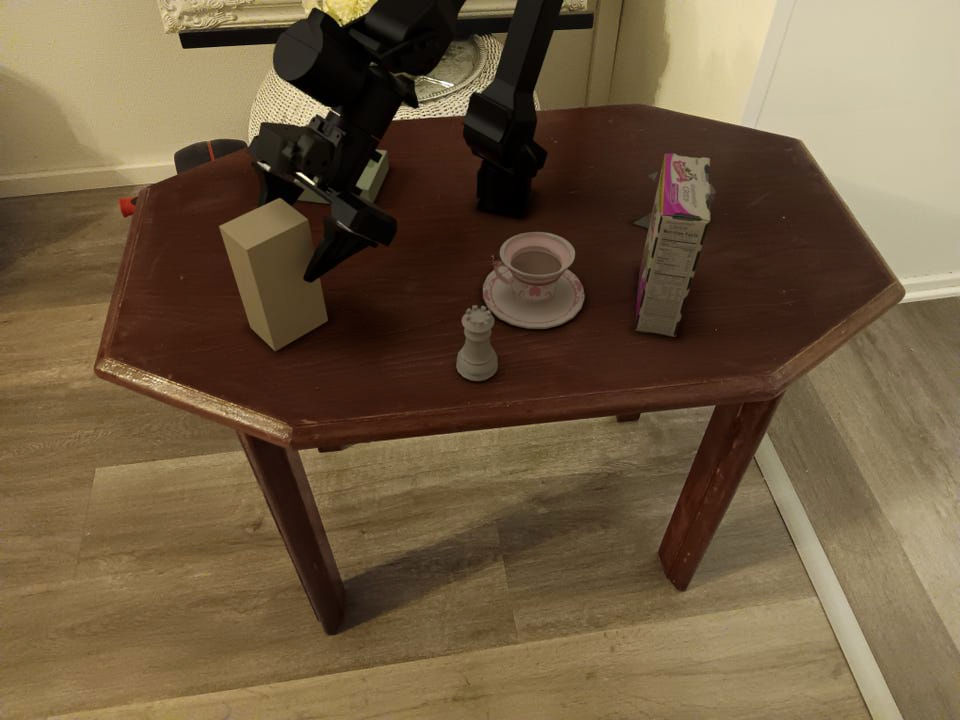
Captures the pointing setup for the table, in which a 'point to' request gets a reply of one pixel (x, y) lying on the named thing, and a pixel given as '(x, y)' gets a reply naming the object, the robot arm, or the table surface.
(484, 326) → the rook chess piece
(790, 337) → the table surface
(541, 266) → the teacup
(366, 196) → the socket
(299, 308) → the tan rectangular block
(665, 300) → the candy bar box
